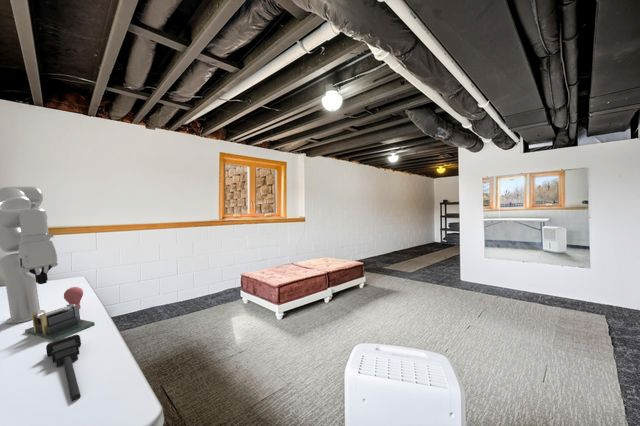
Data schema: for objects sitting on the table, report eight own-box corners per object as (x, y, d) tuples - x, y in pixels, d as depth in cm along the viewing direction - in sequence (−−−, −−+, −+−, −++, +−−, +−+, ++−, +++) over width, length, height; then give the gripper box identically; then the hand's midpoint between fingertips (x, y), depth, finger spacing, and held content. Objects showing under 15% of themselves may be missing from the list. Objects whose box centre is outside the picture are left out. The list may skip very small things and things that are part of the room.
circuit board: (25, 332, 111) (22, 311, 111) (64, 318, 123) (61, 299, 122) (55, 340, 102) (51, 317, 101) (94, 324, 114) (91, 304, 113)
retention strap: (36, 318, 107) (36, 315, 107) (73, 306, 118) (72, 303, 118) (40, 319, 106) (40, 315, 106) (76, 307, 117) (76, 304, 117)
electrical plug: (79, 341, 100) (77, 329, 100) (98, 396, 72) (96, 379, 72) (46, 352, 94) (45, 339, 93) (54, 417, 66) (51, 398, 65)
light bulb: (73, 314, 128) (70, 289, 127) (62, 313, 129) (58, 289, 128) (89, 307, 135) (86, 284, 134) (78, 307, 136) (74, 284, 135)
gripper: (55, 236, 115) (60, 277, 116) (4, 242, 101) (11, 289, 103) (64, 235, 112) (70, 278, 113) (13, 242, 98) (20, 290, 100)
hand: (42, 283), depth 108 cm, fingers closed
